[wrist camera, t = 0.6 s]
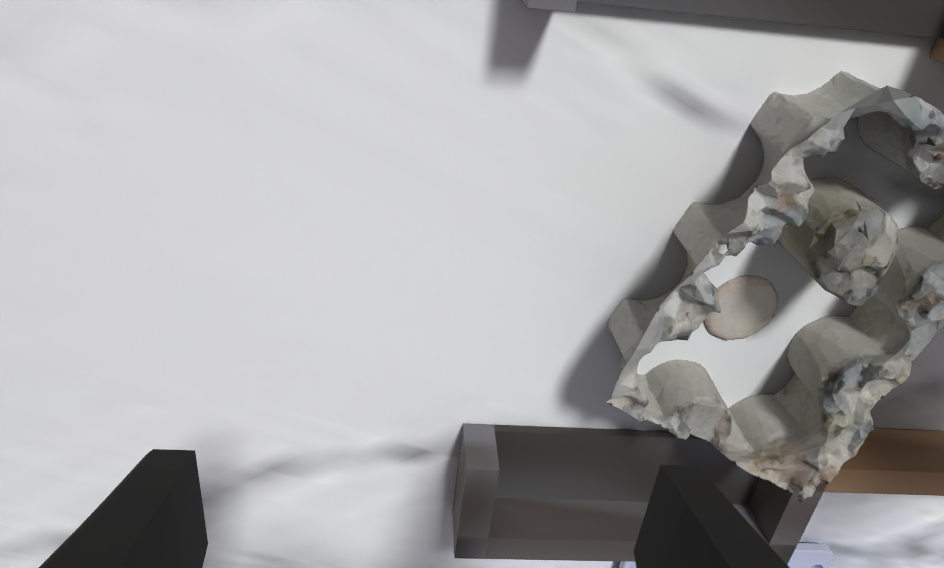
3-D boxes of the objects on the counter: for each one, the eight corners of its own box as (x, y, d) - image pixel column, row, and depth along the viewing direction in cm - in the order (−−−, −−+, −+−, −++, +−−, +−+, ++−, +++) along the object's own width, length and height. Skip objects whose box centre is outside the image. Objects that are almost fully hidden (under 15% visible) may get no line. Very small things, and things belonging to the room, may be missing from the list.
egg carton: (742, 424, 24) (797, 521, 20) (562, 338, 21) (588, 429, 18) (1002, 168, 19) (1130, 233, 16) (809, 23, 17) (909, 63, 13)
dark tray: (1070, 526, 27) (1139, 595, 24) (452, 510, 24) (455, 584, 22) (1540, -85, 16) (1748, -79, 14) (542, -219, 14) (569, -240, 11)
